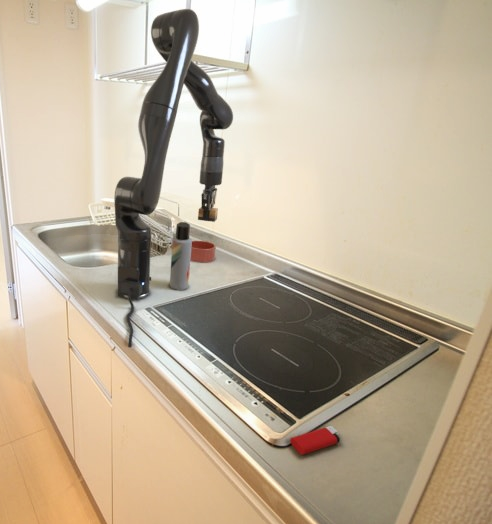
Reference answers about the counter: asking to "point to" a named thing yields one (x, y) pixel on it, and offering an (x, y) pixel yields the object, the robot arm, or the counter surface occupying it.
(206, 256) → the bowl
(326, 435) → the lighter
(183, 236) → the lotion bottle
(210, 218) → the eraser
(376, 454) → the counter surface
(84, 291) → the counter surface
